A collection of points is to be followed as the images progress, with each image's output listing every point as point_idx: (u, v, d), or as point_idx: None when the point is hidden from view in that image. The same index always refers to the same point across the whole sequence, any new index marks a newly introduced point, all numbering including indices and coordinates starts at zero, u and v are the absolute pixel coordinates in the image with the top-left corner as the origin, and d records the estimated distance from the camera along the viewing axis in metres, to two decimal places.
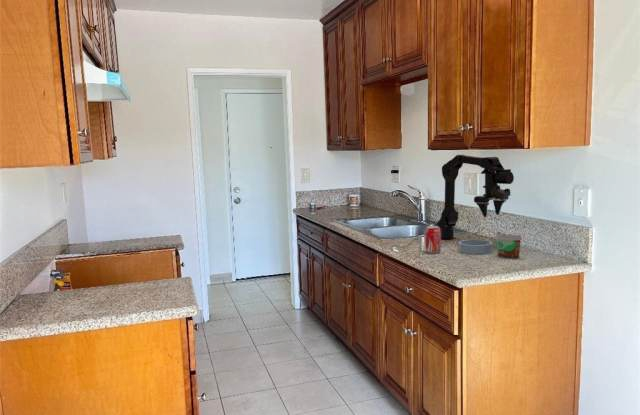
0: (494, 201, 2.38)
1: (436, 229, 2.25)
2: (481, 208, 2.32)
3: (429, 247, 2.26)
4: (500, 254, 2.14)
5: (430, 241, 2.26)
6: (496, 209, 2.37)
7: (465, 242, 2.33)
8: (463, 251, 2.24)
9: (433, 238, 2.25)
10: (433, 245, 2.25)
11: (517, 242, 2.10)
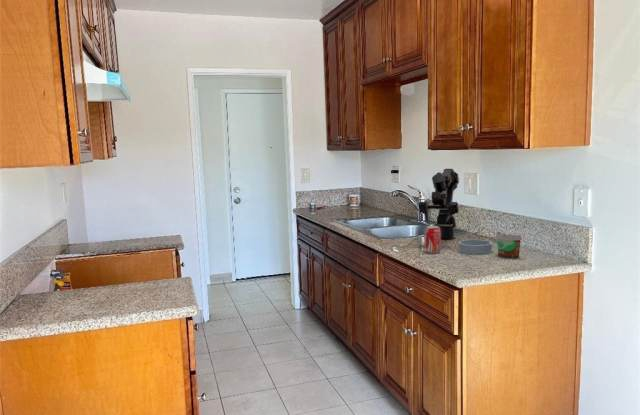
0: None
1: (436, 229, 2.25)
2: None
3: (429, 247, 2.26)
4: (500, 254, 2.14)
5: (430, 241, 2.26)
6: None
7: (465, 242, 2.33)
8: (463, 251, 2.24)
9: (433, 238, 2.25)
10: (433, 245, 2.25)
11: (517, 242, 2.10)
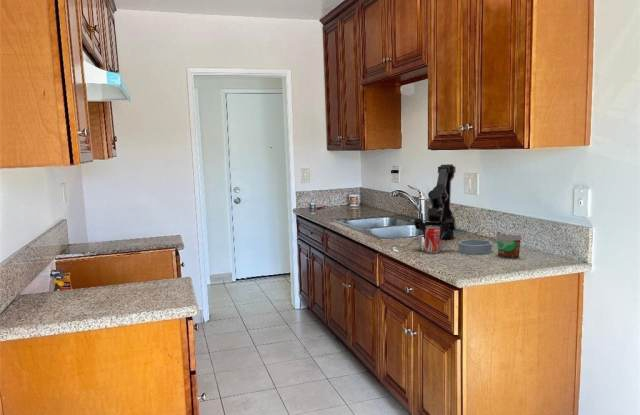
0: None
1: (436, 229, 2.25)
2: None
3: (429, 247, 2.26)
4: (500, 254, 2.14)
5: (430, 241, 2.26)
6: None
7: (465, 242, 2.33)
8: (463, 251, 2.24)
9: (433, 238, 2.25)
10: (433, 245, 2.25)
11: (517, 242, 2.10)
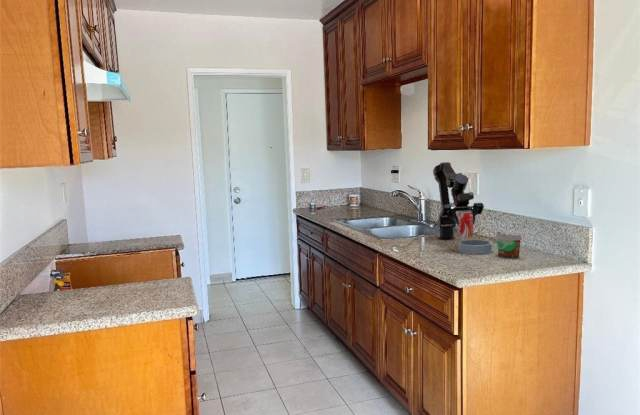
0: None
1: (471, 214, 2.23)
2: (453, 218, 2.27)
3: (465, 233, 2.23)
4: (500, 254, 2.14)
5: (466, 227, 2.22)
6: None
7: (465, 242, 2.33)
8: (463, 251, 2.24)
9: (469, 223, 2.22)
10: (469, 230, 2.22)
11: (517, 242, 2.10)
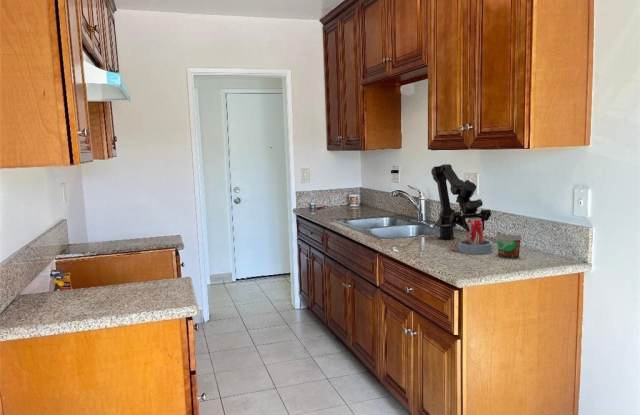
0: None
1: (481, 221, 2.24)
2: (462, 225, 2.28)
3: (476, 240, 2.24)
4: (500, 254, 2.14)
5: (477, 234, 2.23)
6: None
7: (465, 242, 2.33)
8: (463, 251, 2.24)
9: (480, 230, 2.23)
10: (480, 237, 2.24)
11: (517, 242, 2.10)
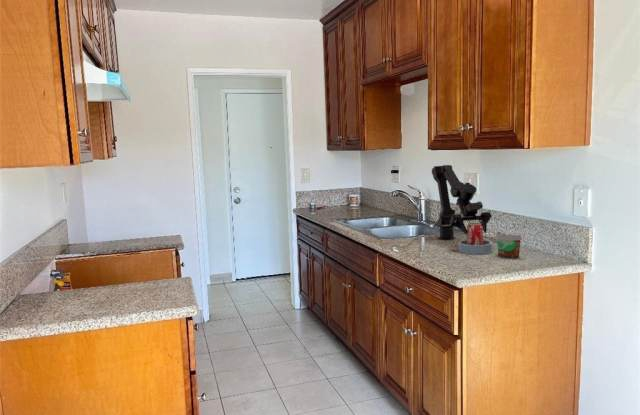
0: None
1: None
2: (460, 228, 2.28)
3: None
4: (500, 254, 2.14)
5: (477, 238, 2.23)
6: (483, 228, 2.28)
7: (465, 242, 2.33)
8: (463, 251, 2.24)
9: (480, 235, 2.23)
10: (480, 241, 2.24)
11: (517, 242, 2.10)
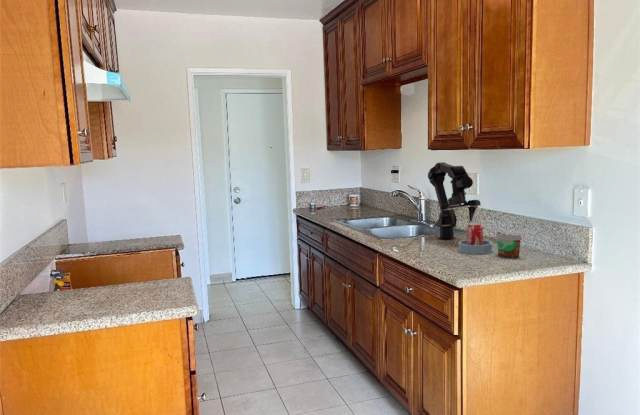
0: None
1: None
2: None
3: None
4: (500, 254, 2.14)
5: (477, 238, 2.23)
6: None
7: (465, 242, 2.33)
8: (463, 251, 2.24)
9: (480, 235, 2.23)
10: (480, 241, 2.24)
11: (517, 242, 2.10)
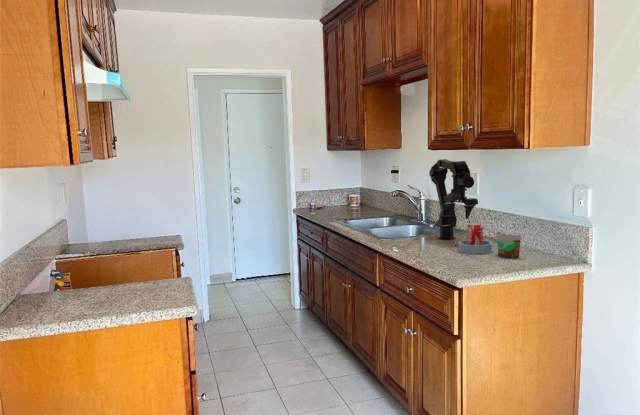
0: None
1: None
2: None
3: None
4: (500, 254, 2.14)
5: (477, 238, 2.23)
6: None
7: (465, 242, 2.33)
8: (463, 251, 2.24)
9: (480, 235, 2.23)
10: (480, 241, 2.24)
11: (517, 242, 2.10)
